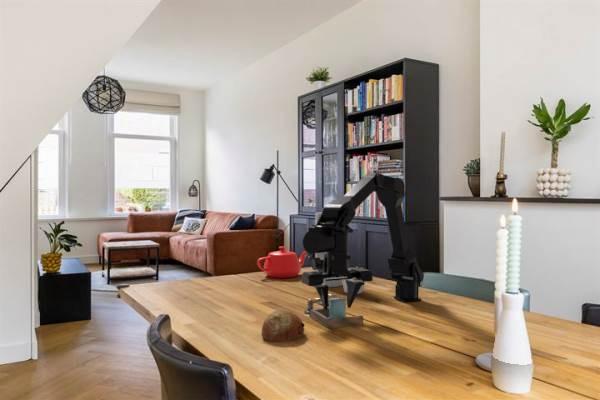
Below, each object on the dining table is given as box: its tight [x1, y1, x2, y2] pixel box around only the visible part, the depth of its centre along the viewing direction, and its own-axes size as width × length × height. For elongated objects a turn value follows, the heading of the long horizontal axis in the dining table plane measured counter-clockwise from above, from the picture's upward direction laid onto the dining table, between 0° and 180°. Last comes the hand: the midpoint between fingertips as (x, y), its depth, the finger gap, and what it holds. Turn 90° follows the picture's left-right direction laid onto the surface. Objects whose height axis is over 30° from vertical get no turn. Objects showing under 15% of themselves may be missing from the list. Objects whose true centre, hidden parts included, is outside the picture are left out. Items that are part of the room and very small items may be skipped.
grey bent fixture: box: [303, 292, 338, 315], centre depth 135 cm, size 12×12×4 cm
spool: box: [327, 297, 347, 319], centre depth 122 cm, size 5×5×6 cm
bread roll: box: [260, 309, 305, 343], centre depth 108 cm, size 10×10×8 cm
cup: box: [342, 267, 365, 295], centre depth 154 cm, size 11×8×8 cm
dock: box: [308, 306, 364, 329], centre depth 121 cm, size 10×12×2 cm
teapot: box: [256, 245, 308, 279], centre depth 188 cm, size 25×16×12 cm, turn 124°
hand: (337, 308), depth 122 cm, fingers open, 7 cm apart
